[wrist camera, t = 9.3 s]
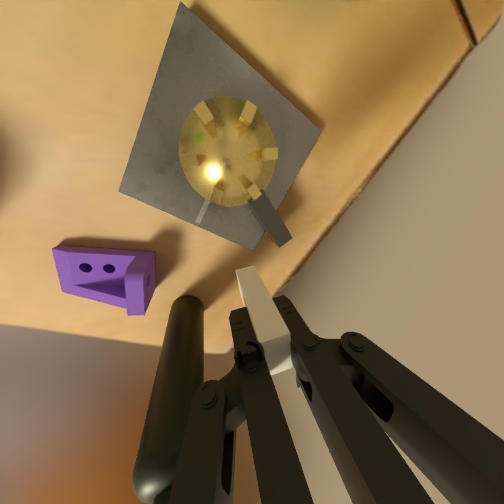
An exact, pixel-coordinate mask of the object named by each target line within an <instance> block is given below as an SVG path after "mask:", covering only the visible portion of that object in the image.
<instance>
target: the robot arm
mask: <svg viewBox="0 0 504 504" xmlns="http://www.w3.org/2000/svg"><path fill="white" fill-rule="evenodd" d="M236 275H237V279H238V284H239V289H240V293H241V298H242V301H243V304H244V307H243V308H239V309H236V310H233V311H231V313H230V317H229V320H230V326H231V331H232V337H233V342H234V348H235V351H234V359H235V364H234V367H233V368H232V370H231V371H230V372H229V373H228V374H227V375H226V376H224V377H223V378H222V379H220V380H219V381H217V380H209V381H206V382H205V383H203V384H202V385H201V386H200V387H199V388H198V389H197V391H196V392H195V395H194V397H193V400H192V404H191V409H190V413H189V417H188V421H187V426H186V430H185V434H184V438H183V442H182V447H181V451H180V455H179V459H178V464H177V468H176V472H175V476H174V481H173V485H172V489H171V493H170V497H169V502H168V504H233V490H234V470H235V449H236V429H237V427H238V426H239V425H240V424H242V423H243V422H244V421H245V419H247V425H248V431H249V436H250V441H251V447H252V452H253V458H254V464H255V470H256V475H257V480H258V486H259V492H260V498H261V503H262V504H314V503H313V500H312V497H311V494H310V491H309V488H308V485H307V482H306V479H305V476H304V473H303V470H302V467H301V464H300V461H299V458H298V455H297V452H296V449H295V446H294V444H293V441H292V437H291V434H290V431H289V428H288V425H287V423H286V419H285V416H284V414H283V411H282V407H281V405H280V401H279V398H278V395H277V392H276V389H275V386H274V384H273V381H272V377H271V375H273V374H276V373H279V372H281V371H284V370H287V369H290V368H292V363H293V365H294V367H295V370H296V382H297V386H298V387H300V386H301V389H302V391H303V393H304V395H305V397H306V399H307V402H308V404H309V406H310V409H311V411H312V413H313V415H314V417H315V420H316V422H317V424H318V427H319V429H320V431H321V433H322V435H323V437H324V440H325V442H326V444H327V446H328V449H329V451H330V453H331V455H332V458H333V460H334V462H335V465H336V467H337V469H338V471H339V473H340V476H341V478H342V480H343V482H344V484H345V487H346V489H347V491H348V494H349V495H350V498H351V500H352V502H353V504H434V502H433V501H432V500H431V498H430V497H429V495H428V494H427V492H426V491H425V490H424V488H423V487H422V485H421V484H420V482H419V481H418V479H417V478H416V476H415V475H414V473H413V472H412V471H411V469H410V468H409V466H408V465H407V463H406V462H405V460H404V459H403V458H402V456H401V455H400V453H399V452H398V450H397V449H396V447H395V446H394V444H393V443H392V442H391V440H390V439H389V437H390V438H391V439H392V440H393V441H394V442H395V443H396V444H397V445H398V446H399V448H400V449H401V450H402V451H403V452H404V453H405V454H406V455H407V456H408V457H409V458H410V460H411V461H412V462H413V463H414V464H415V465H416V466H417V467H418V468H419V469H420V470H421V471H422V473H423V474H424V475H425V476H426V477H427V478H428V479H429V480H430V481H431V482H432V484H433V485H434V486H435V487H436V488H437V489H438V490H439V491H440V492H441V493H442V494H443V496H444V497H445V498H446V499H447V500H448V501H449V502H450V503H451V504H504V441H503V440H502V439H501V438H499V437H498V436H497V435H496V434H494V433H493V432H491V431H490V430H489V429H488V428H486V427H485V426H484V425H482V424H481V423H480V422H478V421H477V420H476V419H474V418H473V417H472V416H470V415H469V414H467V413H466V412H465V411H464V410H462V409H461V408H460V407H458V406H457V405H456V404H454V403H453V402H452V401H450V400H449V399H447V398H446V397H445V396H444V395H442V394H441V393H440V392H438V391H437V390H436V389H434V388H433V387H432V386H430V385H429V384H428V383H426V382H425V381H424V380H422V379H421V378H420V377H418V376H417V375H416V374H414V373H413V372H411V371H410V370H409V369H408V368H406V367H405V366H404V365H402V364H401V363H400V362H398V361H397V360H396V359H394V358H393V357H392V356H390V355H389V354H388V353H386V352H385V351H384V350H382V349H381V348H380V347H378V346H377V345H376V344H374V343H373V342H372V341H370V340H369V339H367V338H366V337H365V336H363V335H361V334H359V333H356V332H346V333H344V334H343V335H342V336H341V339H324V338H320V337H318V336H317V335H315V334H313V333H312V332H311V331H310V330H309V328H308V326H307V325H306V324H305V322H304V320H303V319H302V318H301V316H300V314H299V313H298V312H297V310H296V309H295V307H294V305H293V304H292V302H291V301H290V299H288V298H287V297H285V296H279V297H276V298H271V296H270V294H269V292H268V290H267V288H266V286H265V285H264V283H263V281H262V279H261V277H260V275H259V273H258V271H257V270H256V268H255V266H254V265H252V266H248V267H245V268H241V269H237V270H236ZM385 432H386V433H387V434H388V435H389V437H388V436H387V434H386V433H385Z"/></svg>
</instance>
